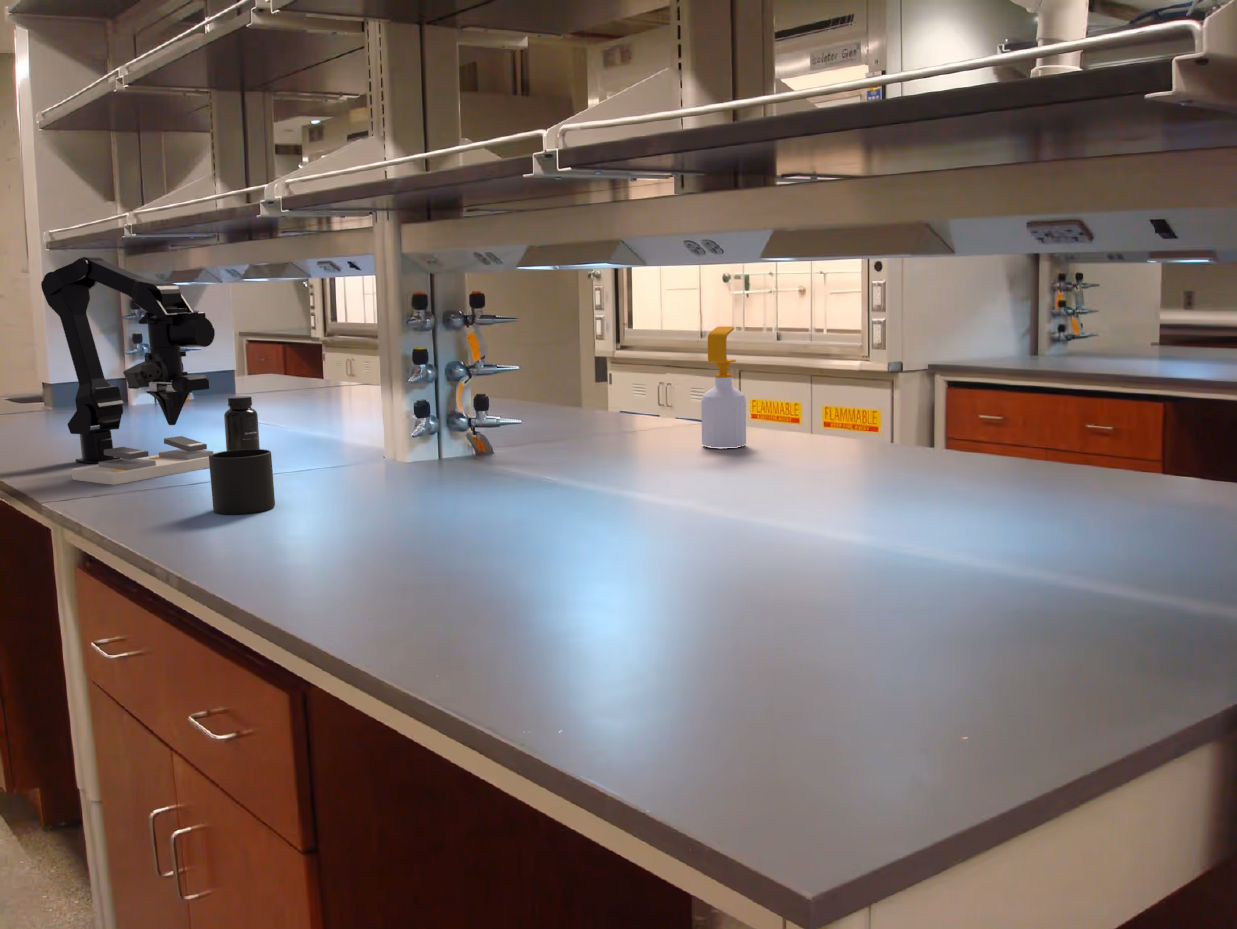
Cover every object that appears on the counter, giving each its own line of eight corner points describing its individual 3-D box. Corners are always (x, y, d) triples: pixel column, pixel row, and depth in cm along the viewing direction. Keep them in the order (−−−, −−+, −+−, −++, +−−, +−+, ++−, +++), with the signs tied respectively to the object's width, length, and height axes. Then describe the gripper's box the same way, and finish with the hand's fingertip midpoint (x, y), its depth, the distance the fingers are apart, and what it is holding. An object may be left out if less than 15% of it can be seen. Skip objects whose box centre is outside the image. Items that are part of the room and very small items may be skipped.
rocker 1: (104, 454, 215) (103, 449, 215) (123, 451, 219) (122, 446, 218) (129, 459, 211) (129, 453, 211) (148, 456, 214) (148, 450, 214)
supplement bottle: (254, 454, 239) (249, 398, 237) (222, 455, 239) (217, 399, 237) (264, 450, 246) (260, 394, 244) (233, 450, 246) (229, 395, 244)
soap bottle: (753, 444, 235) (752, 325, 231) (733, 450, 228) (732, 328, 224) (714, 442, 240) (713, 325, 236) (694, 448, 232) (692, 327, 228)
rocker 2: (163, 443, 226) (163, 438, 226) (181, 440, 229) (181, 435, 229) (189, 452, 222) (189, 446, 222) (206, 449, 225) (206, 443, 225)
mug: (270, 498, 189) (266, 445, 188) (278, 511, 179) (274, 454, 177) (210, 504, 186) (206, 449, 184) (215, 517, 175) (210, 460, 174)
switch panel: (72, 479, 213) (70, 464, 213) (186, 460, 234) (185, 446, 234) (113, 485, 206) (111, 469, 206) (227, 464, 227) (226, 450, 227)
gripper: (99, 348, 223) (107, 427, 225) (158, 350, 212) (165, 432, 215) (150, 345, 232) (157, 420, 234) (208, 346, 222) (214, 425, 224)
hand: (172, 425), depth 227 cm, fingers closed
